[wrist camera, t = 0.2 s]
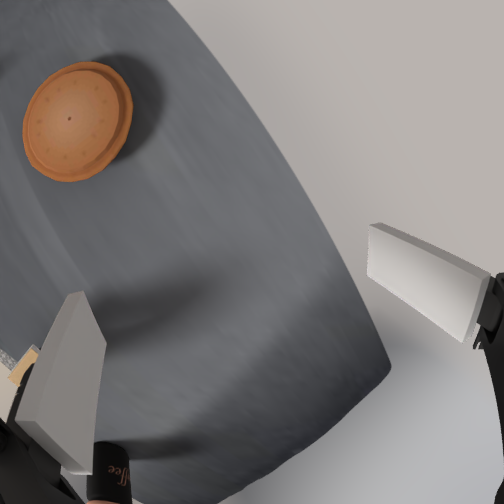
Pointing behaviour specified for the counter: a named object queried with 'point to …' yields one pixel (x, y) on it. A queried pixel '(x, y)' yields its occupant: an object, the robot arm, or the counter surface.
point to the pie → (77, 121)
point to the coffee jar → (109, 476)
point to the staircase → (19, 364)
